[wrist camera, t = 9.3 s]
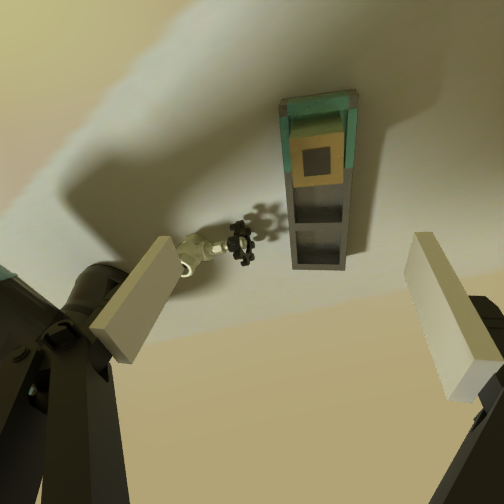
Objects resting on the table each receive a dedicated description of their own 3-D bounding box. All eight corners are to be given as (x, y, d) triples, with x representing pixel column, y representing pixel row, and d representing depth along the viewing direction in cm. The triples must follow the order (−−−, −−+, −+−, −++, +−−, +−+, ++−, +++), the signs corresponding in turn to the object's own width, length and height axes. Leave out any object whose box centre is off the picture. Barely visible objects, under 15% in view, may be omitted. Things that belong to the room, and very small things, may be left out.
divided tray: (293, 256, 42) (292, 269, 40) (282, 99, 29) (278, 105, 27) (343, 256, 41) (345, 271, 38) (355, 89, 27) (358, 95, 25)
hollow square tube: (298, 159, 32) (293, 188, 26) (295, 117, 29) (288, 140, 24) (339, 154, 31) (343, 184, 25) (339, 110, 28) (344, 132, 22)
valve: (196, 259, 47) (258, 245, 43) (181, 286, 42) (250, 274, 38) (176, 228, 44) (241, 210, 39) (157, 254, 39) (229, 237, 34)
